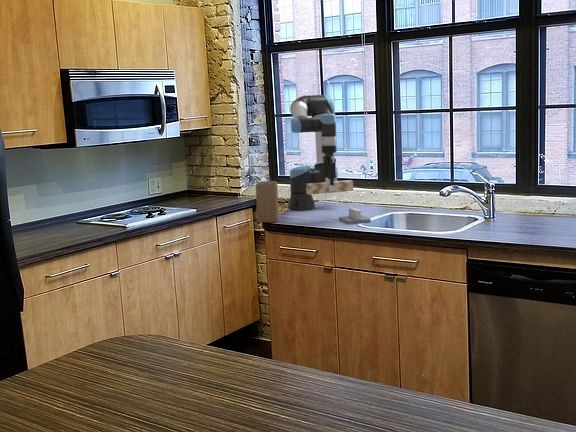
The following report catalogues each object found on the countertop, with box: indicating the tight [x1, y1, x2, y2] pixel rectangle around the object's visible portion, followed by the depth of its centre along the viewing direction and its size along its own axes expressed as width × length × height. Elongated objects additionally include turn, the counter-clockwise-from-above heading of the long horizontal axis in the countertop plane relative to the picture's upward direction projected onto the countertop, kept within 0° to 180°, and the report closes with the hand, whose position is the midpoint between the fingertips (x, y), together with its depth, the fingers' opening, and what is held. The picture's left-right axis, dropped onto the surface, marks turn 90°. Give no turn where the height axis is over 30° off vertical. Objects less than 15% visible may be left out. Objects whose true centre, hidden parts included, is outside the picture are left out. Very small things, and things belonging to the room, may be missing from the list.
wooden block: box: [255, 180, 280, 224], centre depth 342 cm, size 10×10×20 cm
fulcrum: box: [339, 206, 372, 225], centre depth 336 cm, size 12×12×6 cm
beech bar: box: [306, 179, 354, 195], centre depth 341 cm, size 24×4×5 cm, turn 108°
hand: (329, 190), depth 342 cm, fingers closed on beech bar, 4 cm apart
